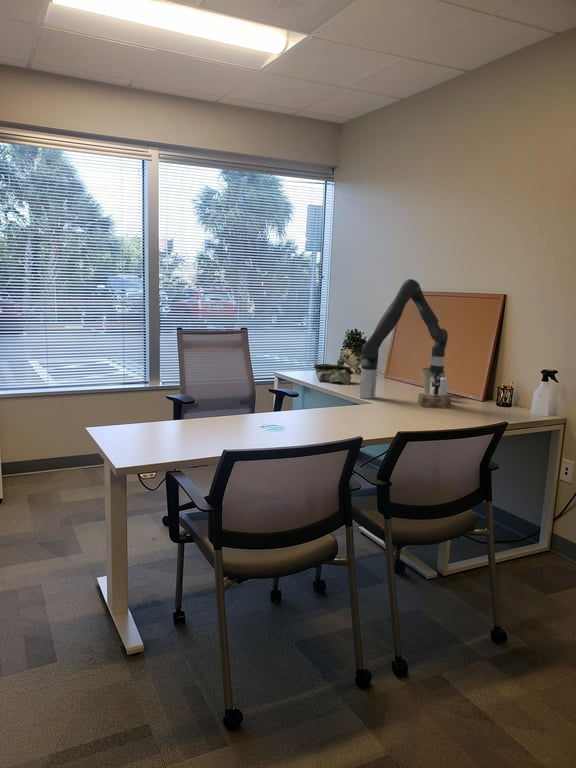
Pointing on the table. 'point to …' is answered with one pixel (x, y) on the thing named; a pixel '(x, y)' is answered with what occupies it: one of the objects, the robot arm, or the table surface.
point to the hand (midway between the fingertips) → (434, 392)
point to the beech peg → (433, 393)
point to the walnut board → (434, 401)
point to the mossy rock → (333, 373)
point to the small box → (442, 386)
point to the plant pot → (428, 378)
